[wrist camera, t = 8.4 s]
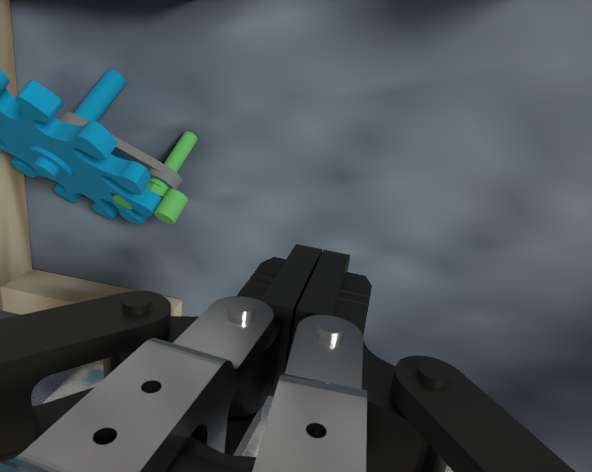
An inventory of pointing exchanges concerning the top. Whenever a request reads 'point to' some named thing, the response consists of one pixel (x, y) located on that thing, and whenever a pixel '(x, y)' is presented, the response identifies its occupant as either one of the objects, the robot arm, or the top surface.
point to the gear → (90, 153)
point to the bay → (15, 231)
